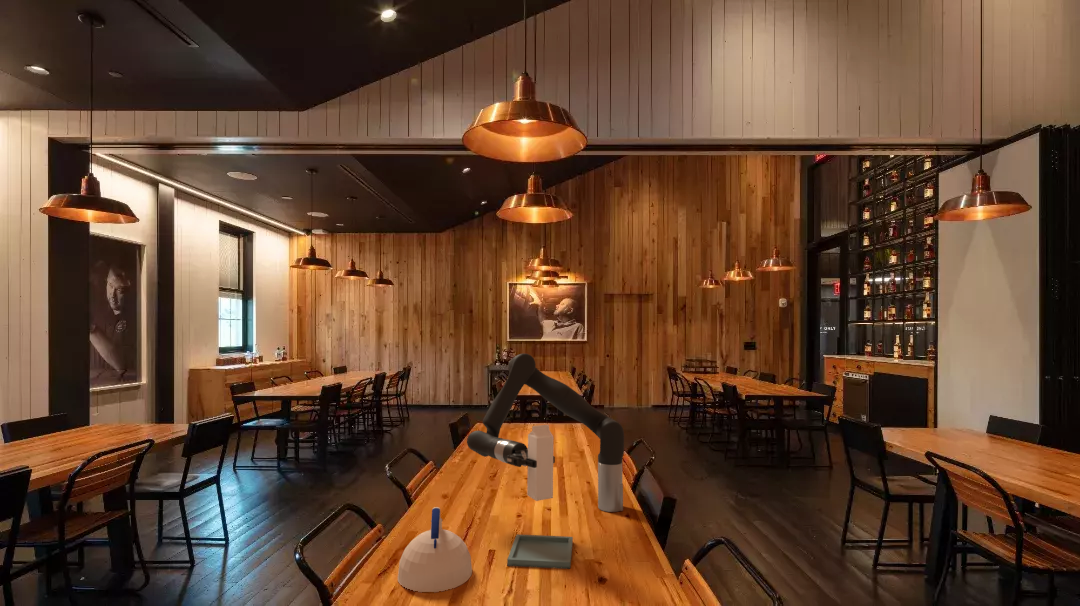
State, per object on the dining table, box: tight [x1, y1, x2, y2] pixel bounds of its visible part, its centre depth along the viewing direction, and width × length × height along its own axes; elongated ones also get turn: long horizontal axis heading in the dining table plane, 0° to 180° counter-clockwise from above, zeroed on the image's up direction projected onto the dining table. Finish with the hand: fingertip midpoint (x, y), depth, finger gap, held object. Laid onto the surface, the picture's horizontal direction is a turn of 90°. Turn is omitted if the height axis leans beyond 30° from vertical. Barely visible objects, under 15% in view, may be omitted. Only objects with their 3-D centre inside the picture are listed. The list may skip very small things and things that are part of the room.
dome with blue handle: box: [397, 506, 473, 593], centre depth 142 cm, size 20×21×18 cm
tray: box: [506, 534, 574, 570], centre depth 155 cm, size 18×18×2 cm
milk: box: [526, 424, 555, 502], centre depth 160 cm, size 6×6×22 cm
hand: (545, 462), depth 158 cm, fingers closed on milk, 7 cm apart
